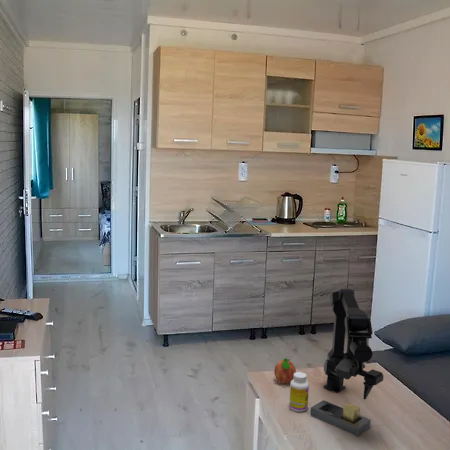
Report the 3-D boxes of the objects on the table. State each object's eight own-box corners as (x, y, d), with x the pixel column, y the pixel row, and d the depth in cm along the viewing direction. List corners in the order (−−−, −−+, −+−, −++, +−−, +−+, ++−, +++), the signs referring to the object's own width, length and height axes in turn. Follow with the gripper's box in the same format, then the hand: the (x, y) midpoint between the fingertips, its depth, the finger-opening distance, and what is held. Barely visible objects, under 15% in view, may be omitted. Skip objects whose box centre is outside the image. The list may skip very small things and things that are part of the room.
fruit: (271, 384, 210) (272, 360, 208) (277, 375, 219) (278, 352, 217) (292, 388, 207) (293, 364, 206) (297, 378, 216) (298, 355, 214)
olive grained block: (348, 422, 183) (349, 403, 182) (358, 426, 180) (360, 407, 179) (342, 426, 180) (343, 406, 179) (352, 430, 177) (353, 411, 176)
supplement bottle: (307, 413, 188) (308, 379, 186) (288, 411, 189) (290, 377, 187) (308, 405, 194) (309, 371, 192) (290, 402, 195) (291, 370, 193)
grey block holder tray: (323, 407, 192) (323, 400, 192) (370, 427, 179) (370, 419, 179) (310, 415, 186) (310, 407, 186) (358, 436, 173) (358, 428, 173)
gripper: (318, 348, 176) (315, 392, 179) (368, 365, 164) (365, 412, 166) (336, 340, 184) (333, 382, 187) (385, 356, 172) (382, 401, 174)
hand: (352, 394), depth 178 cm, fingers open, 9 cm apart
